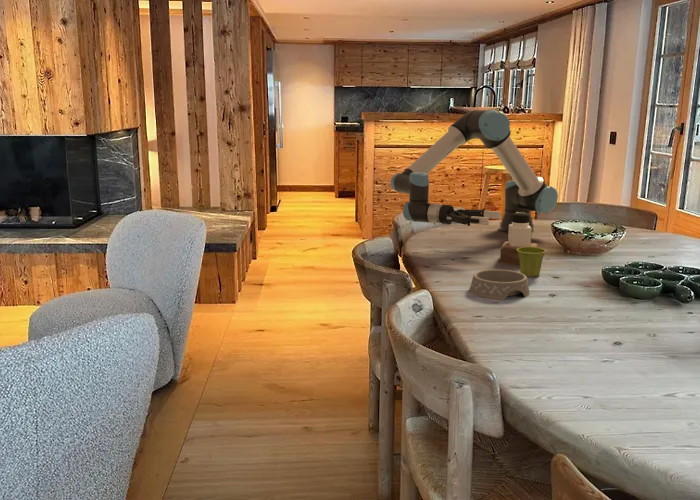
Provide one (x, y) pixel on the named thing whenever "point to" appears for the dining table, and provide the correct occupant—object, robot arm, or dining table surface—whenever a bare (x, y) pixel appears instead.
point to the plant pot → (530, 260)
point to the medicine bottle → (520, 230)
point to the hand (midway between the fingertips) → (494, 218)
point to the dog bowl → (499, 284)
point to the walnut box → (511, 254)
